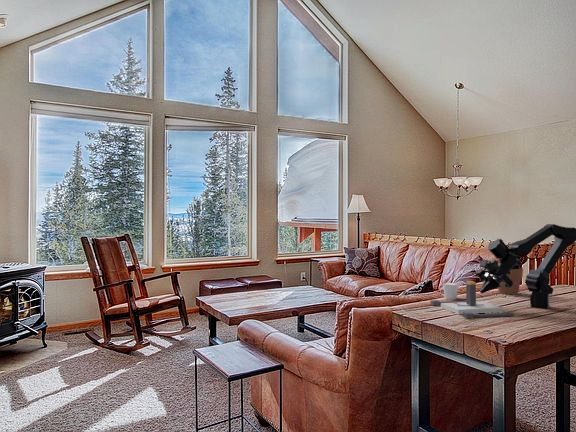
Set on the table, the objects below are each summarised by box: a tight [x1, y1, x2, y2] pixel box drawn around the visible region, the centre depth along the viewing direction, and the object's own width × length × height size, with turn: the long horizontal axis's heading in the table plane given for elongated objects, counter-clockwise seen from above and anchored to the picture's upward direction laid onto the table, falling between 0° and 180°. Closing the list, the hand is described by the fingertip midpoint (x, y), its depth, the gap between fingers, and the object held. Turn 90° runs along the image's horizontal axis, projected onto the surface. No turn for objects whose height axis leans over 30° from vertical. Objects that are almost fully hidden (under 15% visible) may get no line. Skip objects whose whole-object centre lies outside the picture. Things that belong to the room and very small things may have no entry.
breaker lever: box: [465, 280, 477, 305], centre depth 186 cm, size 2×3×10 cm
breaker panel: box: [440, 300, 504, 315], centre depth 186 cm, size 20×14×2 cm
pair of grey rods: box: [430, 299, 515, 320], centre depth 186 cm, size 21×28×2 cm
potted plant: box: [497, 256, 524, 296], centre depth 227 cm, size 14×14×25 cm
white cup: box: [442, 282, 459, 300], centre depth 214 cm, size 7×7×7 cm
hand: (480, 292), depth 187 cm, fingers closed
